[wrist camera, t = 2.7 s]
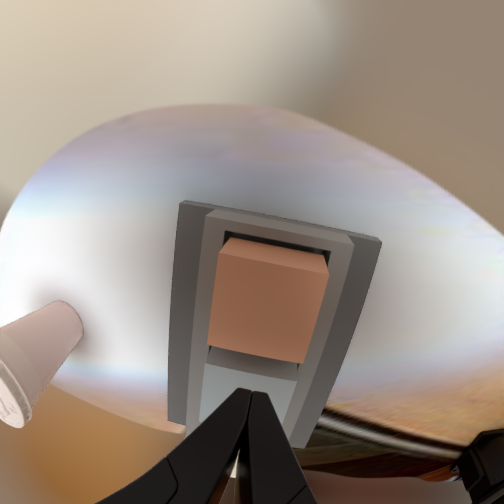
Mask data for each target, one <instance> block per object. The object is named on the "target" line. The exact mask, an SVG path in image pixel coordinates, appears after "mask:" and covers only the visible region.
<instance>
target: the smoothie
mask: <svg viewBox="0 0 504 504" xmlns="http://www.w3.org/2000/svg"><path fill="white" fill-rule="evenodd" d="M82 336H83V325H82V322H81V319H80V317H79V316H78V314H77V313H76V311H75V310H74V309H73V308H72V307H71V306H70V305H68V304H67V303H65V302H62V301H55V302H53V303H51V304H49V305H46V306H44V307H42V308H40V309H38V310H36V311H34V312H32V313H30V314H28V315H26V316H24V317H22V318H19V319H17V320H15V321H13V322H11V323H9V324H7V325H5V326H3V327H1V328H0V419H1V420H2V421H4V422H6V423H7V424H9V425H11V426H13V427H16V428H21V427H23V426H24V424H25V423H26V422H28V421H29V420H30V419H31V418H32V410H31V409H32V407H33V406H34V404H35V403H36V402H37V400H38V399H39V397H40V396H41V394H42V393H43V391H44V390H45V388H46V387H47V385H48V384H49V382H50V381H51V379H52V378H53V377H54V375H55V374H56V372H57V371H58V369H59V368H60V367H61V365H62V364H63V362H64V361H65V360H66V358H67V357H68V355H69V354H70V353H71V351H72V350H73V349H74V347H75V346H76V345H77V343H78V342H79V341H80V339H81V338H82Z"/></svg>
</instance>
